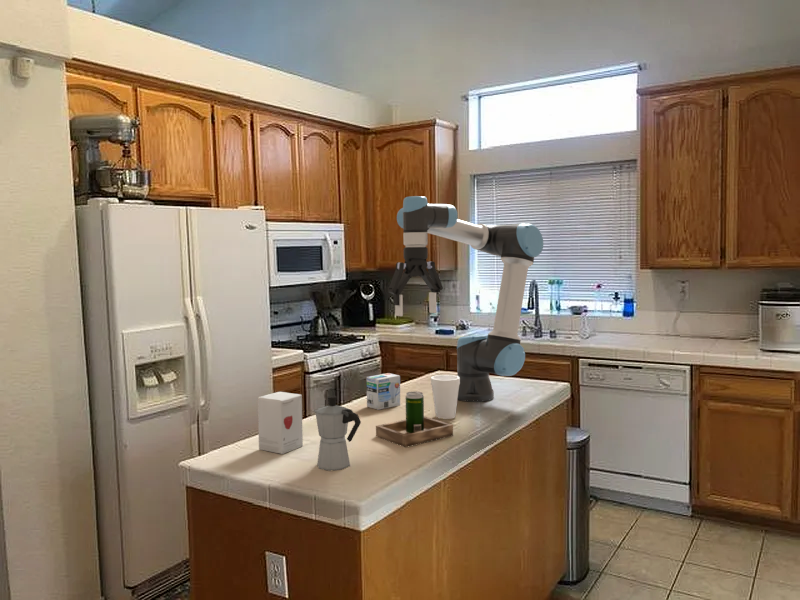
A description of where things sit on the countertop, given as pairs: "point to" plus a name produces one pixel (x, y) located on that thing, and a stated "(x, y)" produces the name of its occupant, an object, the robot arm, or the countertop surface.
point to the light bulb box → (383, 391)
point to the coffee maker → (334, 435)
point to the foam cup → (445, 395)
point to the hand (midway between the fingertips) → (416, 314)
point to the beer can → (414, 412)
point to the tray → (399, 435)
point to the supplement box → (280, 422)
